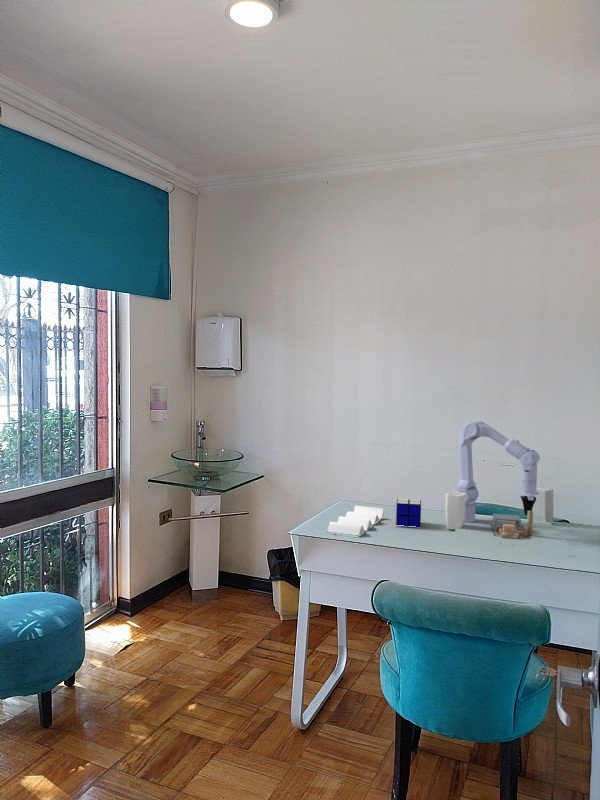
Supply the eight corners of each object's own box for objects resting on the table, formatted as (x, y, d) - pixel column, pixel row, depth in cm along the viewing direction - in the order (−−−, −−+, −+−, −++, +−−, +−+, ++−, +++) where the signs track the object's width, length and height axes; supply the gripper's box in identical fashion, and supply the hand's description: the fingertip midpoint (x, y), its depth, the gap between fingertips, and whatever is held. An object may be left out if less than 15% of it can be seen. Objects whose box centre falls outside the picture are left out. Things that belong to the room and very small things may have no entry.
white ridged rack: (326, 535, 247) (326, 522, 247) (354, 516, 279) (355, 505, 279) (357, 539, 242) (358, 526, 242) (383, 520, 274) (383, 508, 274)
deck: (494, 539, 242) (494, 535, 242) (489, 527, 262) (490, 523, 262) (530, 542, 240) (531, 538, 240) (523, 529, 259) (523, 525, 259)
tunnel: (494, 531, 249) (494, 518, 249) (492, 526, 257) (492, 513, 257) (520, 533, 247) (520, 520, 247) (517, 528, 255) (518, 515, 255)
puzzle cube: (396, 526, 260) (396, 503, 260) (396, 521, 270) (397, 498, 269) (420, 528, 258) (421, 504, 258) (420, 522, 268) (420, 499, 268)
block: (503, 536, 242) (504, 526, 241) (502, 533, 246) (503, 523, 245) (514, 537, 241) (515, 527, 241) (513, 534, 245) (513, 524, 245)
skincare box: (553, 523, 270) (554, 489, 269) (544, 525, 267) (546, 490, 266) (536, 519, 277) (538, 486, 276) (528, 521, 274) (529, 487, 273)
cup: (443, 530, 256) (444, 494, 255) (448, 526, 262) (449, 491, 261) (461, 532, 252) (462, 496, 252) (465, 528, 259) (466, 493, 258)
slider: (500, 536, 240) (501, 513, 240) (498, 531, 247) (499, 508, 247) (534, 539, 237) (535, 515, 237) (531, 534, 245) (532, 510, 244)
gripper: (542, 484, 241) (541, 519, 242) (536, 478, 255) (535, 511, 256) (523, 483, 242) (522, 518, 243) (518, 477, 256) (517, 510, 257)
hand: (527, 514), depth 249 cm, fingers closed
